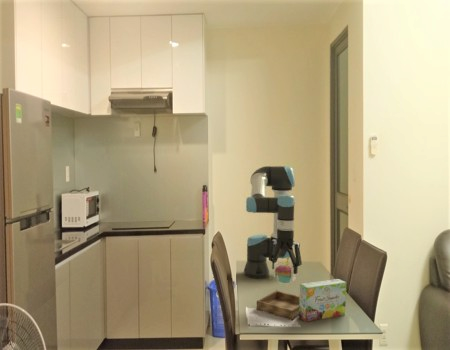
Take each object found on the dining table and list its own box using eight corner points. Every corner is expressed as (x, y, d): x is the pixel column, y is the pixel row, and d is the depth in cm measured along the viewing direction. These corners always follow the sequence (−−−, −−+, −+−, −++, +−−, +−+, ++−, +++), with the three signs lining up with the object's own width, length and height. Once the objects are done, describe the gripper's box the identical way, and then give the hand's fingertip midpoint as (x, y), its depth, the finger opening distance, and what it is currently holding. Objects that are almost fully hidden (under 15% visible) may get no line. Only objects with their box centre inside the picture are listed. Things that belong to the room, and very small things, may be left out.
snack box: (306, 322, 158) (306, 287, 157) (298, 317, 163) (299, 283, 162) (346, 315, 166) (346, 281, 166) (337, 310, 171) (338, 277, 171)
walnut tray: (256, 309, 171) (256, 301, 171) (276, 298, 185) (276, 290, 185) (292, 320, 160) (292, 310, 160) (310, 307, 174) (310, 299, 174)
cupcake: (297, 281, 172) (297, 255, 172) (286, 285, 166) (287, 258, 166) (281, 277, 178) (282, 252, 178) (270, 281, 172) (271, 255, 172)
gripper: (261, 227, 175) (260, 275, 175) (303, 233, 162) (302, 285, 163) (269, 225, 181) (268, 272, 181) (310, 230, 168) (309, 281, 169)
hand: (284, 278), depth 172 cm, fingers closed on cupcake, 8 cm apart
